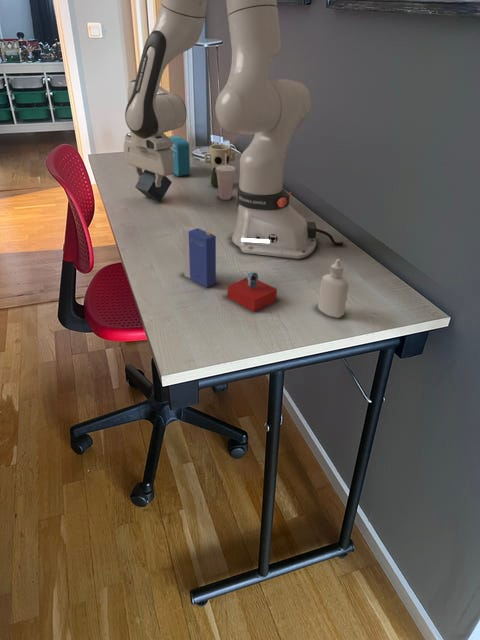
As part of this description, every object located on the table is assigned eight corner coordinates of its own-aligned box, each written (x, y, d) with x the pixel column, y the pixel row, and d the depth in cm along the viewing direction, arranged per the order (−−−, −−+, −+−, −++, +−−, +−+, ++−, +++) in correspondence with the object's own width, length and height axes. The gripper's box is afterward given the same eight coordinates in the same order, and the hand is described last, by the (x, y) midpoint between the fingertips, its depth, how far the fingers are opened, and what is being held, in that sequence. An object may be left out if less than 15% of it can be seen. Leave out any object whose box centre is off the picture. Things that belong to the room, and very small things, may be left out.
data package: (167, 168, 189) (165, 135, 183) (178, 167, 191) (177, 134, 185) (178, 177, 180) (177, 143, 174) (190, 176, 182) (189, 142, 176)
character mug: (208, 190, 169) (207, 150, 162) (201, 183, 175) (201, 145, 168) (238, 187, 173) (239, 148, 166) (231, 180, 178) (231, 143, 171)
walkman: (216, 283, 114) (215, 234, 107) (206, 287, 112) (206, 237, 106) (193, 272, 119) (192, 224, 112) (184, 275, 117) (182, 227, 110)
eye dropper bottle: (334, 304, 107) (342, 252, 101) (346, 317, 103) (354, 265, 96) (315, 306, 106) (322, 254, 100) (326, 320, 102) (333, 267, 95)
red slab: (227, 297, 109) (227, 271, 105) (249, 287, 113) (250, 261, 110) (254, 311, 104) (255, 284, 101) (275, 300, 108) (277, 274, 105)
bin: (160, 202, 158) (147, 191, 153) (147, 197, 162) (134, 186, 157) (172, 182, 159) (159, 170, 153) (159, 177, 162) (146, 166, 157)
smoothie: (236, 195, 166) (236, 151, 158) (233, 201, 160) (234, 157, 153) (216, 194, 166) (216, 150, 158) (214, 200, 161) (213, 156, 153)
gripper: (116, 133, 153) (121, 178, 160) (159, 145, 141) (162, 193, 149) (133, 130, 157) (137, 174, 164) (176, 142, 145) (178, 189, 153)
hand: (149, 183), depth 156 cm, fingers closed on bin, 6 cm apart
